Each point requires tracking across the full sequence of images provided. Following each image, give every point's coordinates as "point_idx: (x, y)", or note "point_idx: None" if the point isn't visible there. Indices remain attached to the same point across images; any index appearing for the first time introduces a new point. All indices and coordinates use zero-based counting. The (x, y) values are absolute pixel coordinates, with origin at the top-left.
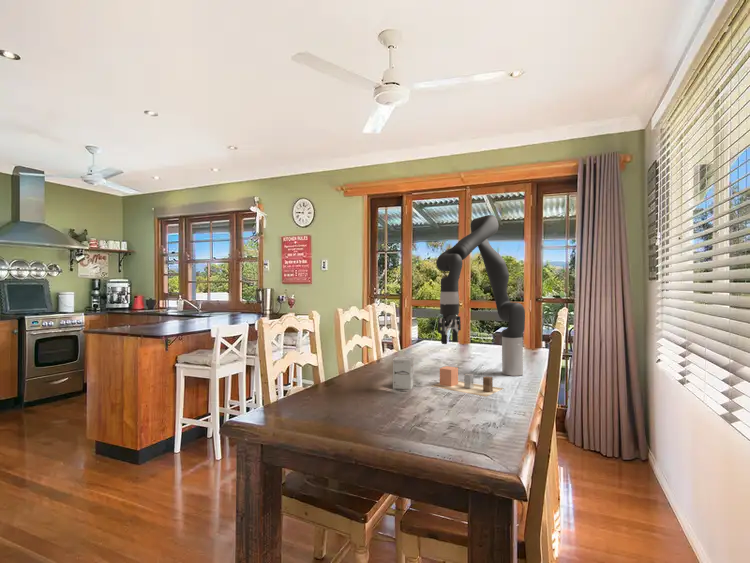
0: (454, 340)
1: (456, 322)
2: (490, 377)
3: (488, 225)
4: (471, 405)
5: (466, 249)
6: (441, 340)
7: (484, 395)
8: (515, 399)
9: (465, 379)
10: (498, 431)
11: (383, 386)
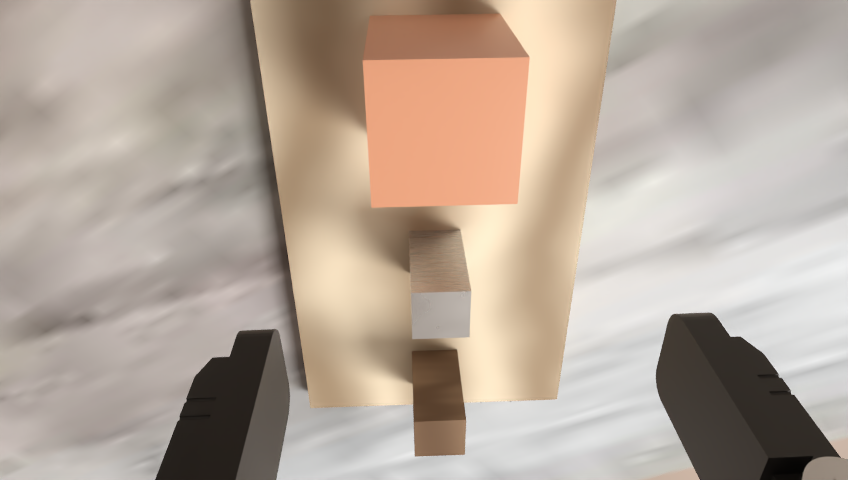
0: (668, 362)
1: None
2: (449, 449)
3: None
4: (155, 386)
5: None
6: (189, 393)
7: (324, 393)
8: (432, 469)
9: (410, 278)
10: None
11: None
